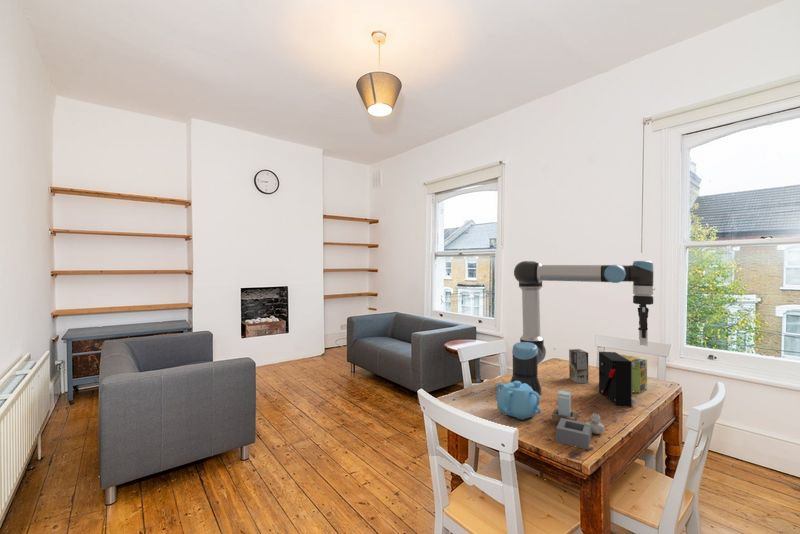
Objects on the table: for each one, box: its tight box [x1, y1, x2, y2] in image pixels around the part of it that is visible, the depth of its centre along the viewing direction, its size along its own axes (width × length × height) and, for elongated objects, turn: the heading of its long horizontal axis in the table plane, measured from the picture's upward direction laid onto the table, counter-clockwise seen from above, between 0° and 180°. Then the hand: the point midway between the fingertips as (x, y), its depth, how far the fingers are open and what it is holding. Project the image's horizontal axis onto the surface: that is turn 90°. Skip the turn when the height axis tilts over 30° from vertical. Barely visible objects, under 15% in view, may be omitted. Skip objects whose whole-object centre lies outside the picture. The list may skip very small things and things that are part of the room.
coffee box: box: [568, 348, 589, 384], centre depth 192 cm, size 9×6×16 cm
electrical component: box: [598, 351, 636, 408], centre depth 165 cm, size 18×10×20 cm, turn 168°
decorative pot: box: [495, 381, 542, 421], centre depth 148 cm, size 16×16×14 cm
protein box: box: [618, 353, 648, 394], centre depth 181 cm, size 10×15×16 cm
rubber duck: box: [587, 412, 605, 435], centre depth 132 cm, size 5×7×8 cm
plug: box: [557, 390, 572, 417], centre depth 139 cm, size 4×4×12 cm
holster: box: [551, 407, 578, 427], centre depth 139 cm, size 8×8×4 cm
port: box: [555, 418, 592, 450], centre depth 126 cm, size 10×10×5 cm
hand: (643, 342), depth 159 cm, fingers open, 13 cm apart
